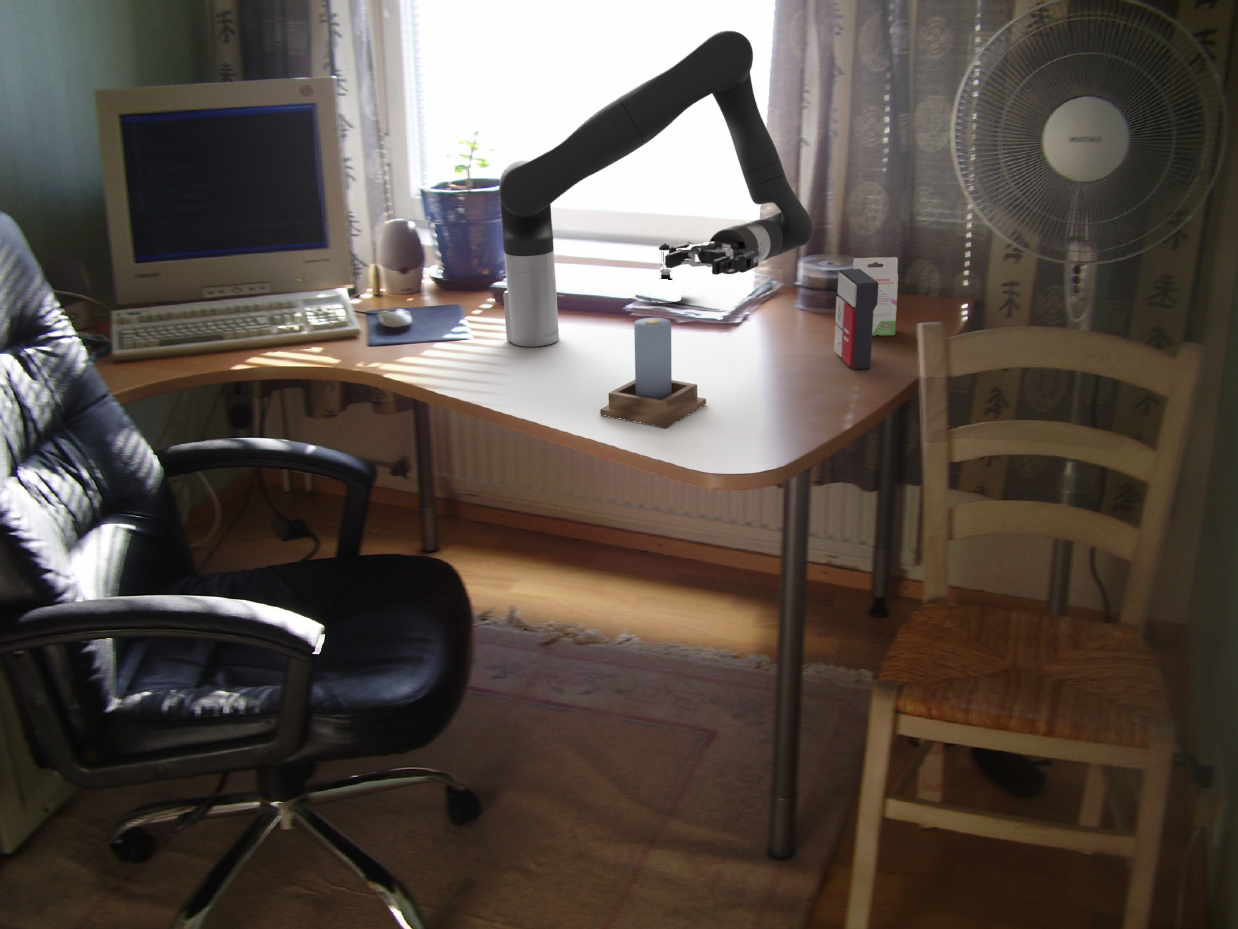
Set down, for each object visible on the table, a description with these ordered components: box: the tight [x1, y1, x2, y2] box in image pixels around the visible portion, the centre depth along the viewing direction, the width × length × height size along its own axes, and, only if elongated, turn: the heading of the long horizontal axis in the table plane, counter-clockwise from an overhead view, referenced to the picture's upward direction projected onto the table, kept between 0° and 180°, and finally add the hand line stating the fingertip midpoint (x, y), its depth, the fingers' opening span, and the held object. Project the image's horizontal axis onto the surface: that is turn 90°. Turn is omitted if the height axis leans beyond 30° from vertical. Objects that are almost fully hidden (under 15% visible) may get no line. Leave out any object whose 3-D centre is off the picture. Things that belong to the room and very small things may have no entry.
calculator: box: [833, 268, 878, 371], centre depth 186 cm, size 11×4×15 cm, turn 5°
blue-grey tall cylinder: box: [633, 317, 673, 400], centre depth 166 cm, size 6×6×13 cm
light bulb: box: [658, 243, 673, 280], centre depth 230 cm, size 12×10×10 cm
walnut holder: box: [599, 379, 707, 429], centre depth 168 cm, size 12×12×4 cm
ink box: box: [852, 256, 899, 337], centre depth 201 cm, size 9×5×15 cm, turn 84°
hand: (690, 264), depth 170 cm, fingers open, 8 cm apart
